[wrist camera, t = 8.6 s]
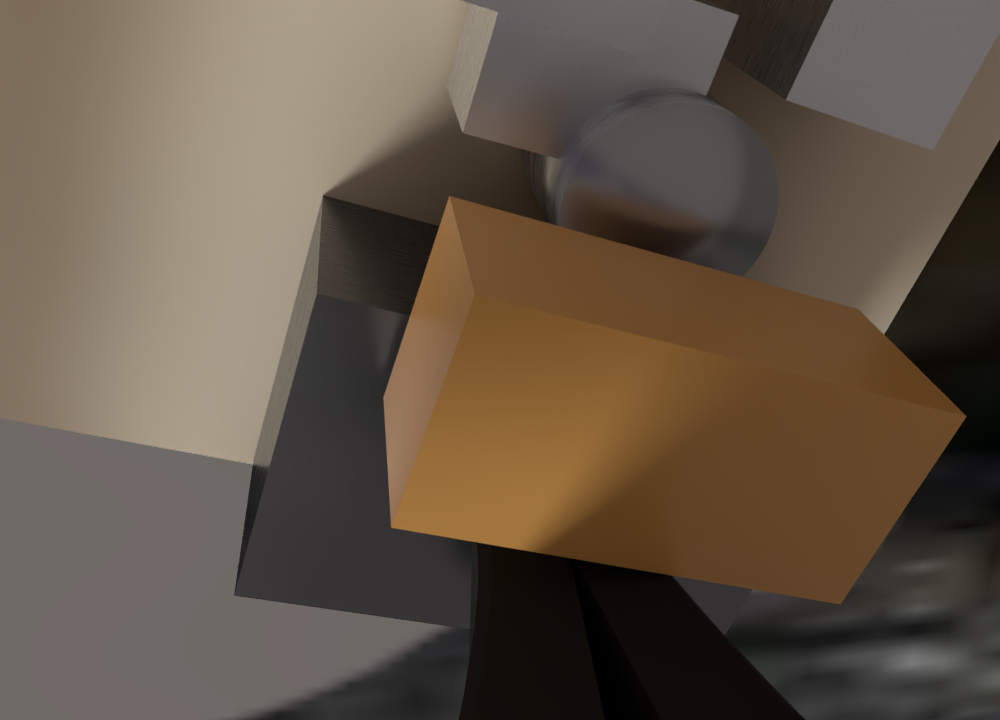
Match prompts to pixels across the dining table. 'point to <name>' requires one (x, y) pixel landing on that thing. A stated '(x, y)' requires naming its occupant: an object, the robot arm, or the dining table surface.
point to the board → (328, 193)
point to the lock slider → (649, 412)
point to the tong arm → (621, 122)
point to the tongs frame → (398, 274)
